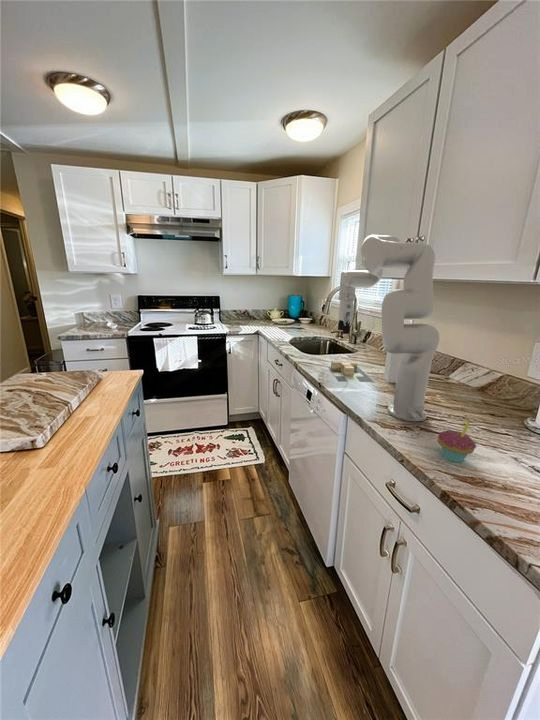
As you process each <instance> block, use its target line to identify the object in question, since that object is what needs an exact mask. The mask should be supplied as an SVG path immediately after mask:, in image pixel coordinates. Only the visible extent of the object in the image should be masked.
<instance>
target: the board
mask: <svg viewBox="0 0 540 720" xmlns="http://www.w3.org/2000/svg"><path fill="white" fill-rule="evenodd" d="M327 368H328V370H329V371H330V372H331V374H332V375H333V376H334V377H335V378H336V380H337V382H340V383H341V382H349V383H350V382H351V383H354V382H355V383H374V382H375V381H374V380H373V379H372V378H371V377H370V376H368V374H366V372H364V370H362V368H360V367H359V366H357V371H354V376H345V375H344V374H343V373H342V372H341V371H332V369H331V366H327Z"/></svg>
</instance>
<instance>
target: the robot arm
mask: <svg viewBox="0 0 540 720" xmlns="http://www.w3.org/2000/svg"><path fill="white" fill-rule="evenodd" d="M360 253H361V256H362V258H363V261H362V263H363V264H362V265H363V267H364V269H365V270H343V271H342V272H341V273H340V280H339V292H338V301H339V306H338V307H339V308H338V323H337V324H338V325H337V330H338V331H342V334H344V335H349V334H350V331H351V330H350V329H351V323H352V321H353V319H354V302H355V298H356V297H355V296H356V289H357V288H361V289H363V288H365V289H367V288H369V289H370V288H372V287H374V286H375V285H376V284H378V283H379V282H380V281H381V279H382V277H383V274H384V273H383V272H384V269H403V270H404V269H405V270H406V272H405V274H404V277H403V289H393V290H390V291H388V292H387V293H386V294H385V296H384V298H383V300H382V303H381V338H382V339H381V340H382V345H383V348H384V350H385V351H386V353H387V352H389V353H393V354H402V353H405V354H404V356H403V357H402V359H401V361H400V364H399V369H398V375H397V382H396V383H395V389H394V390H395V391H394V396H393V402H392V403H391V404H389V405H388V406H387V412H388V413H389V414H390V415H391V416H393V417H394V418H397V419H399V420H404V421H408V422H423V421H426V419H428V418H427V417H428V413H427V411H426V410H424V405H425V400H426V395H427V389H428V383H429V378H430V373H431V367H432V363H433V360H434V356H435V353H436V351H437V348H438V346H439V342H440V333H439V331H438V329H437V328H436V327H435V326H433V325H432V324H428V323H404V322H405V321H406V320H407V321H408V320H411V321H412V320H413V321H414V320H424V319H427V318H429V317H430V316H431V315H432V314H433V310H434V281H433V277H434V275H433V273H434V269H435V268H434V267H435V261H436V255H435V249H433V247H432V246H431V245H429V244H427V243H422V242H410V241H409V242H408V241H401V239H399V238H398V237H397V236H394V235H393V236H392V235H382V234H381V235H379V234H371V235H368V236H367V237H366V238H365V239H364V240H363V242H362V244H361V247H360Z"/></svg>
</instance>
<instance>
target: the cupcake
mask: <svg viewBox="0 0 540 720" xmlns="http://www.w3.org/2000/svg"><path fill="white" fill-rule="evenodd" d="M470 421H471V419H469V420H468V421H466V422H465V425H464V428H463V429H462V431H455V430H451V429H450V430H445V431H444V430H443V431H441V432H439V433H438V436H437V440H436V442H437V443H438V445H439V446H441V450H442V455H443V457H444V458H445V459H446V460H448V461H451V462H453V463H462V462H464V461H465V459H466V458H467V456H468V455H471V454H473V453H474V451H475V449H476V448H477V445H476V443H475V442H474V440H473V439H472V438H471V437H470V436H469V435H467V434H466V432H467V430H468V428H469V426H470V424H471V422H470Z"/></svg>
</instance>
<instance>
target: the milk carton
mask: <svg viewBox="0 0 540 720" xmlns="http://www.w3.org/2000/svg"><path fill="white" fill-rule="evenodd" d="M404 354H405V353H402V354H393V353H389V352H387V351H386V357H385V364H384V371H383V378H384V380H385V381H386V382H387V383H395V384H396V382H397V375H398V369H399V364H400V361H401V359H402V357H403V356H404Z"/></svg>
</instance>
